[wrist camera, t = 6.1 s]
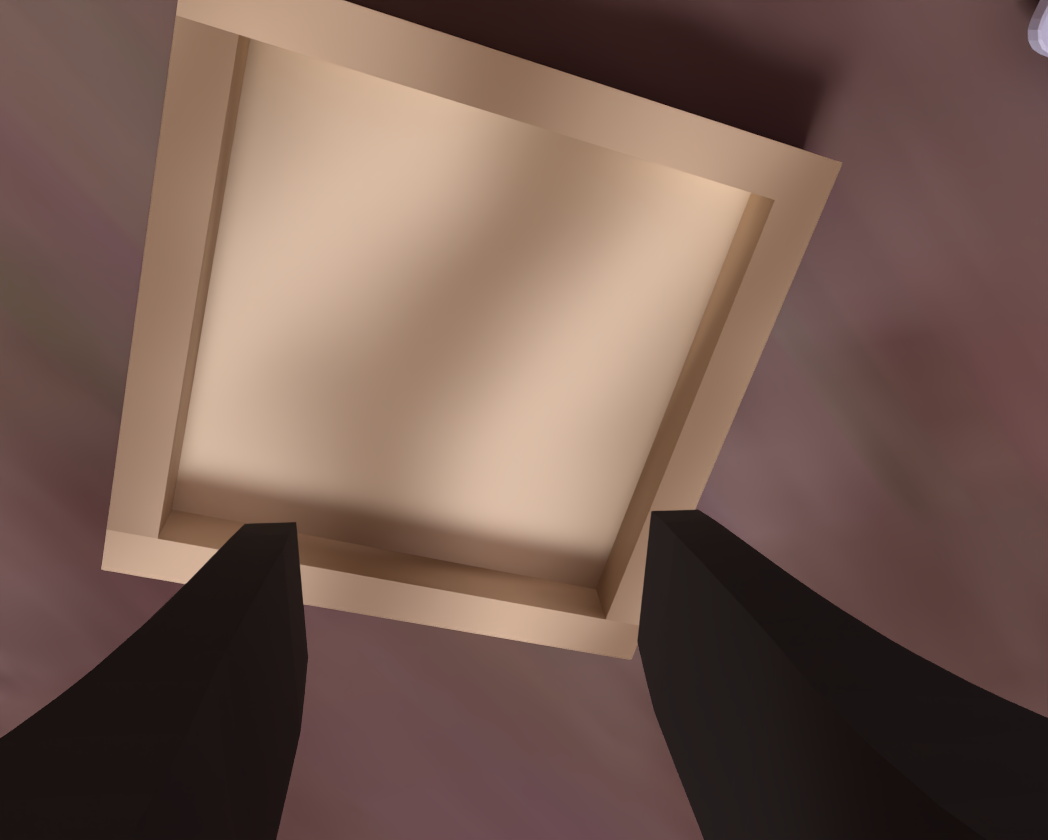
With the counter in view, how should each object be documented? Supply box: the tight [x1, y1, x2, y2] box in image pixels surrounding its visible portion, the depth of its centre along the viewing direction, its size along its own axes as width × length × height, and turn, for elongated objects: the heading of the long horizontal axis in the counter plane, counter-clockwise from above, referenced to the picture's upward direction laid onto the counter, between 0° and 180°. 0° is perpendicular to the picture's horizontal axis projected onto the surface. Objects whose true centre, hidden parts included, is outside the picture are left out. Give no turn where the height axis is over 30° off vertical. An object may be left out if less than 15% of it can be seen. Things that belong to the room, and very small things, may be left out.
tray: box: [101, 0, 842, 660], centre depth 18 cm, size 12×12×2 cm
